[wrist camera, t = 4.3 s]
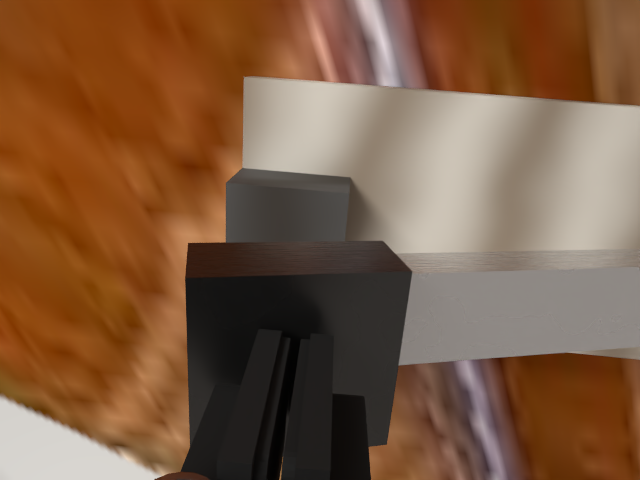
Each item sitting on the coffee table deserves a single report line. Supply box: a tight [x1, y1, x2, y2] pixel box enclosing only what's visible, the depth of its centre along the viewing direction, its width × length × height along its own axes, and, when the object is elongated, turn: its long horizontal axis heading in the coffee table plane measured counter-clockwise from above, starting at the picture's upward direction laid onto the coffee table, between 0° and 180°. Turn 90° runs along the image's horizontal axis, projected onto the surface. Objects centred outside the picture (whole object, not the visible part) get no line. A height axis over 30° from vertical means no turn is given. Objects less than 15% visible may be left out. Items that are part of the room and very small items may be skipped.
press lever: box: [185, 241, 640, 456], centre depth 15 cm, size 22×5×4 cm, turn 87°
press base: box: [226, 76, 640, 360], centre depth 21 cm, size 26×12×8 cm, turn 86°
